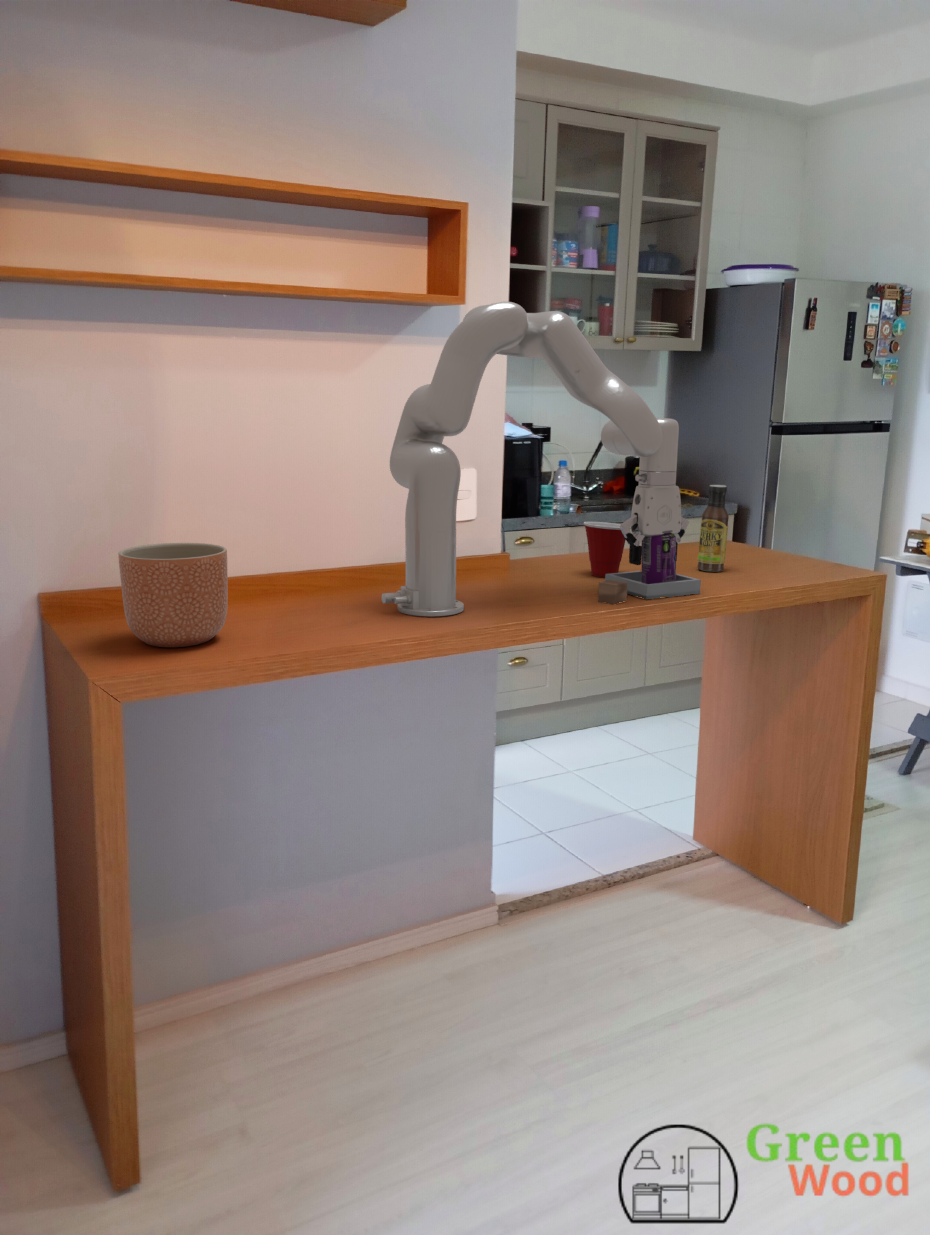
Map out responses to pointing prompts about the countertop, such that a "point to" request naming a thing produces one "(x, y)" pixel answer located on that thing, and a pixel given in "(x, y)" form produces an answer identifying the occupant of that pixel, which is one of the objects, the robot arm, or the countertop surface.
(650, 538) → the beverage can
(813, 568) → the countertop surface
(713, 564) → the sauce bottle
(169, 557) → the planter
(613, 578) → the tray
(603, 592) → the walnut block
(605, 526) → the plastic cup
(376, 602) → the countertop surface
